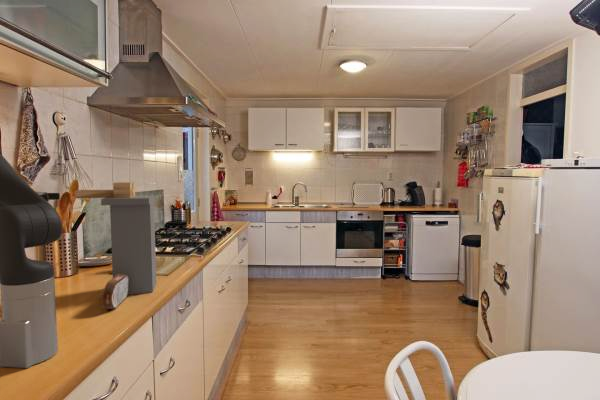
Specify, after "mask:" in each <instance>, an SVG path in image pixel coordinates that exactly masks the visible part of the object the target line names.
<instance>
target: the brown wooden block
mask: <svg viewBox="0 0 600 400" xmlns="http://www.w3.org/2000/svg"><path fill="white" fill-rule="evenodd" d="M135 184H136V183H135V182H133V181H132V182H131V181H129V182H127V181H125V182H124V181H123V182H122V181H120V182H119V181H118V182H113V183H112V185H113V189H76V190H74V199H103V198H132V197H135V196H136V187H135V186H136V185H135Z"/></svg>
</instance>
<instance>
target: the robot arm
mask: <svg viewBox="0 0 600 400" xmlns="http://www.w3.org/2000/svg"><path fill="white" fill-rule="evenodd" d="M60 199H61V194H60V193H59V192H46V191H43V192H41V191H35V189H33V188H32V187H31V186H30V185H29V184H28V183H27V182H26V181H25V180H24V179H23V178H22V177H21V175H20V174H18V173H17V171H16V170H15V169H14V167H13V166H12V165H11V163H9V162H8V160H7V159H6V158H5V156H3V155H2V154H1V153H0V303H1V304H0V307H1V320H0V368H1V367H2V368H20V369H21V368H23V369H27V368H30V367H32V366H33V365H36V364H39V363H42V362H44V361H47V360H49V359H50V358H52V357H54V356H55V355H56V354H57V353H58V351H59V346H58V345H59V344H58V342H59V341H58V326H57V325H58V324H57V310H56V309H57V308H56V307H57V302H56V290H55V289H56V286H55V268H54V264H53V263H51V262H50V261H45V260H37V259H32V258H30V257H28V256H27V254H26V250H25V249H28V248H29V249H30V248H35V247H41V246H45V245H49V244H52V243H55V242H57V241H58V240H59V239H60V238H61V237H62V234H63V221H62V219H61V217H60V214H59V213H58V212H57V210H56V209H55V208H54V206H53V205H52V204H51V203H50V202H49V201H52V200H53V201H59V200H60Z"/></svg>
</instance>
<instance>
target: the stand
mask: <svg viewBox="0 0 600 400" xmlns="http://www.w3.org/2000/svg"><path fill="white" fill-rule="evenodd" d="M155 201H156V198H155V195H135V197H132V198H100V202H101V203H100V205H101V206H109V213H110V215H109V217H110V219H109V220H110V237H111V238H110V241H111V244H110V245H111V264H112V268H111V269H112V278H114V277H115V276H117V275H118V274H120V275H127V276H128V277H129V291H128V295H134V294H135V295H136V294H137V295H138V294H146V293H147V294H148V293H153V292H154V290H155V288H156V286H157V261H156V259H157V257H156V234H155V233H156V231H155V230H156V228H155V227H156V226H155V225H156V223H155Z"/></svg>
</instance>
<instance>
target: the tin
mask: <svg viewBox="0 0 600 400" xmlns="http://www.w3.org/2000/svg"><path fill="white" fill-rule="evenodd" d="M128 291H129V277H128V276H127V275H120V274H118V275H117V276H115V277H114V278H113V277H112V278H111V279H109V280H108V281H107V282H106V284H105V285H104V288H103V292H102V297H101V299H102V306H103V309H104V310H115V309H117V308H118V307H119V306H120V305H122V303H123V302H124V301H126V299H127V297H128V295H129V294H128Z"/></svg>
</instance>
